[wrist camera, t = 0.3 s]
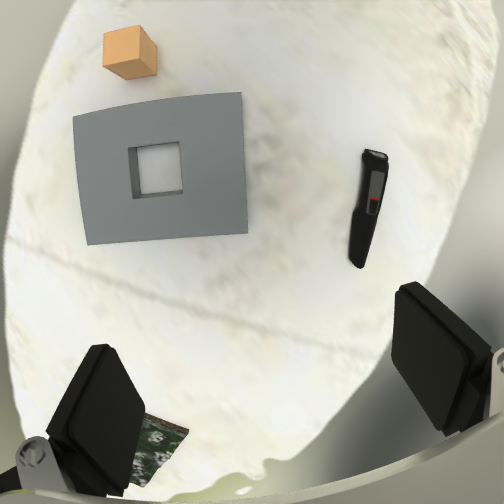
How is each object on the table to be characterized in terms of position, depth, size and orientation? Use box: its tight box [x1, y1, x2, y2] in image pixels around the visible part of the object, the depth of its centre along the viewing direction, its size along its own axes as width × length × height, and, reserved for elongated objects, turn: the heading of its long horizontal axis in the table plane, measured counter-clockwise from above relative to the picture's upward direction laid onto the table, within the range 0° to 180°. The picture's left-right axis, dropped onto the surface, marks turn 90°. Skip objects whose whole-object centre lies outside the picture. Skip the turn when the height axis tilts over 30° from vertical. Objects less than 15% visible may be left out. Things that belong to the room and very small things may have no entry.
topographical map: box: [129, 413, 189, 487], centre depth 51 cm, size 26×33×3 cm
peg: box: [102, 25, 157, 80], centre depth 27 cm, size 4×4×8 cm
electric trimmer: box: [349, 149, 389, 269], centre depth 38 cm, size 4×16×3 cm, turn 173°
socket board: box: [73, 92, 248, 245], centre depth 34 cm, size 16×20×4 cm
